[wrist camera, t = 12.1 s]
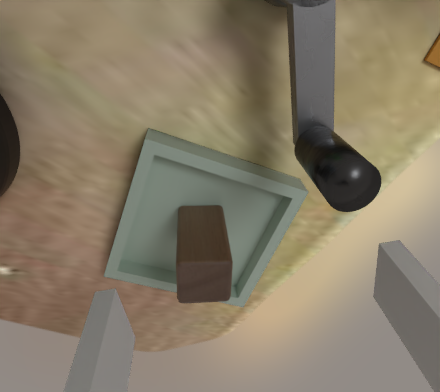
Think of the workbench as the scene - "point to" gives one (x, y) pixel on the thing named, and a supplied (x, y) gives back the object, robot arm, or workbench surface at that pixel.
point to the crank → (323, 110)
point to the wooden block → (203, 255)
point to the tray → (199, 196)
